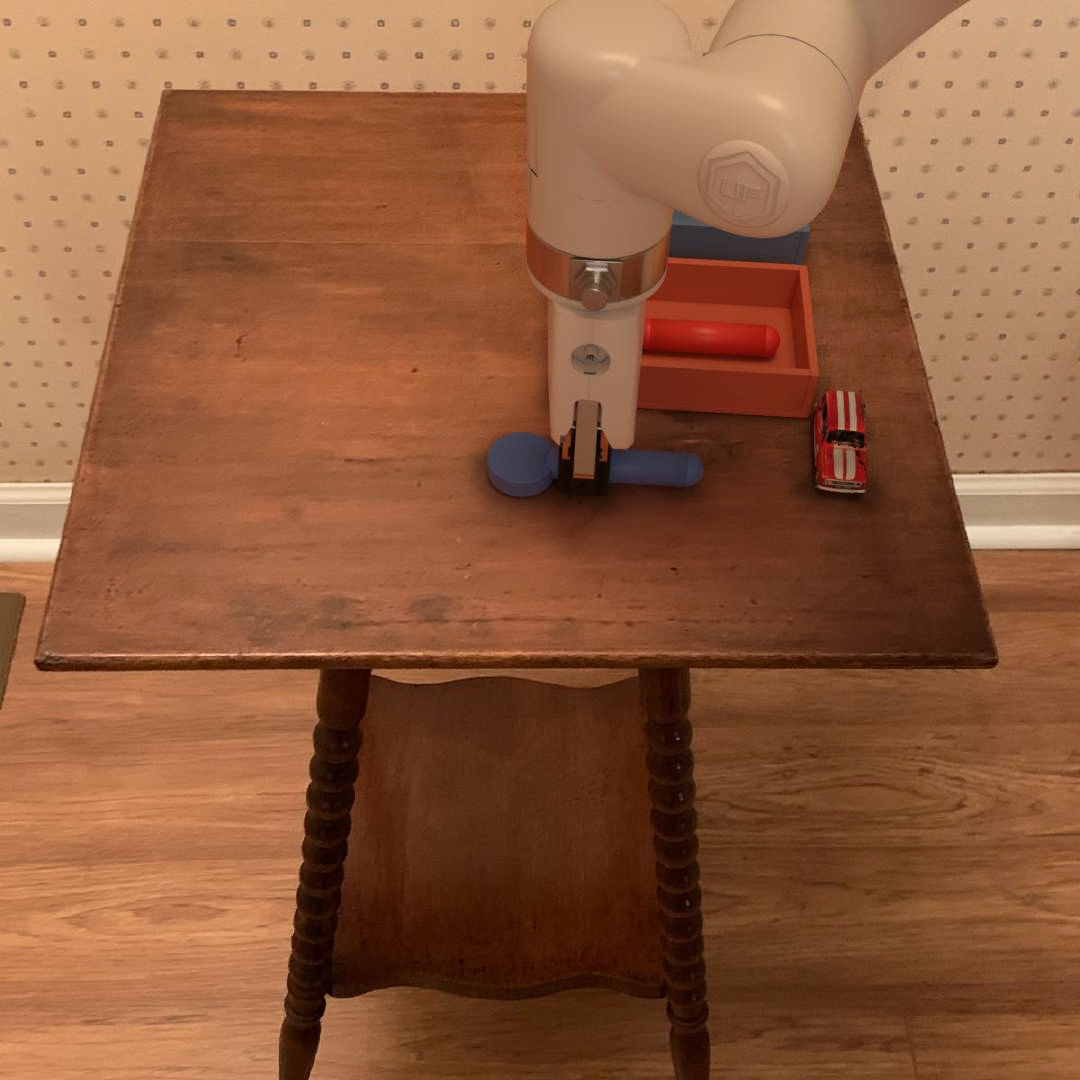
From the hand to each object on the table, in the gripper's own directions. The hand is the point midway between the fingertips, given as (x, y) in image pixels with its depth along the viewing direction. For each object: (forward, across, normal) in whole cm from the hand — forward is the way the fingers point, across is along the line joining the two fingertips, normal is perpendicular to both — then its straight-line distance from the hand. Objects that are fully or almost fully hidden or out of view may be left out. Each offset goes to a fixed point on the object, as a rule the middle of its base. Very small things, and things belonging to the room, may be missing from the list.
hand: (583, 473), depth 77 cm
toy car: (+1, +3, -17) cm, 17 cm away
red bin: (0, +12, -6) cm, 14 cm away
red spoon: (0, +12, -6) cm, 14 cm away
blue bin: (0, +30, -9) cm, 32 cm away
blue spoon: (0, 0, -1) cm, 1 cm away
